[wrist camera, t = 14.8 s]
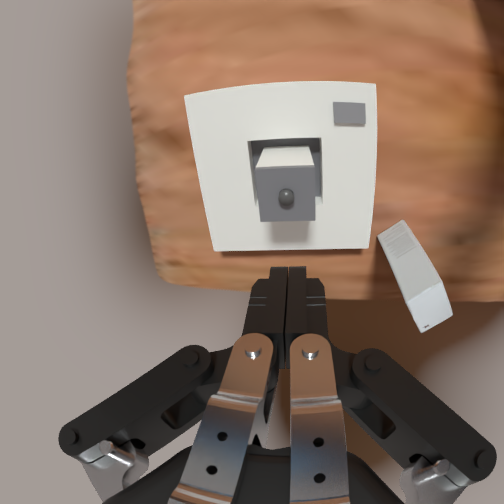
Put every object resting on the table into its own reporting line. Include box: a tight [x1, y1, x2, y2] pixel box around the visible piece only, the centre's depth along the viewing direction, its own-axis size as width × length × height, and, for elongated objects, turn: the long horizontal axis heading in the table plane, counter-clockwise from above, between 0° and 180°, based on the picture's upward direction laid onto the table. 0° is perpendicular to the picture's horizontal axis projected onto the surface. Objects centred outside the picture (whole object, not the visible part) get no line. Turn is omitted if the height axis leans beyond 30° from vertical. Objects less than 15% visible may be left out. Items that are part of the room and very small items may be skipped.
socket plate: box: [184, 81, 377, 251], centre depth 26 cm, size 18×18×3 cm
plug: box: [255, 145, 315, 222], centre depth 24 cm, size 4×4×9 cm
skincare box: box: [377, 220, 453, 333], centre depth 26 cm, size 6×4×12 cm
